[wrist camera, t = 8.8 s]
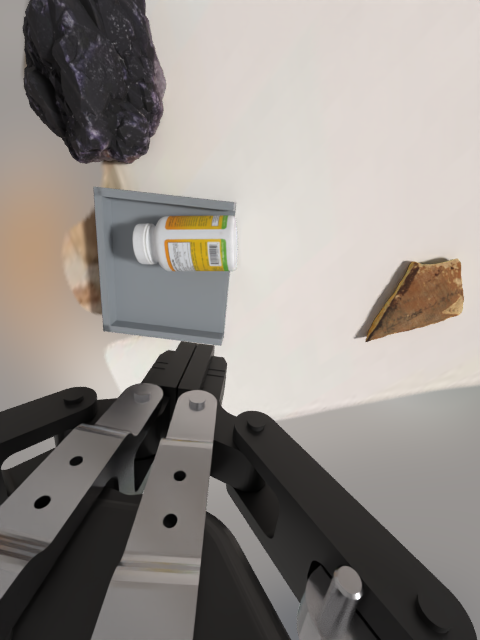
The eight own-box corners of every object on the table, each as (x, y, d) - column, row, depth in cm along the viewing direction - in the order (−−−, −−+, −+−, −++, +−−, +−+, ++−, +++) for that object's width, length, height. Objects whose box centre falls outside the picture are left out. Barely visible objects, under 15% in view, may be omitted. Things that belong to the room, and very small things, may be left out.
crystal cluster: (73, 181, 32) (10, 179, 23) (3, 18, 26) (-116, -70, 17) (191, 150, 31) (175, 135, 22) (146, -26, 25) (99, -143, 16)
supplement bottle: (238, 227, 32) (151, 228, 33) (234, 205, 27) (130, 206, 27) (237, 276, 32) (149, 276, 32) (233, 263, 26) (127, 263, 27)
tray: (105, 188, 31) (93, 186, 29) (236, 202, 31) (234, 202, 29) (113, 323, 37) (103, 331, 35) (223, 337, 36) (221, 345, 34)
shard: (361, 337, 36) (366, 343, 34) (348, 278, 33) (353, 282, 32) (456, 311, 34) (467, 316, 32) (450, 247, 31) (460, 249, 30)
